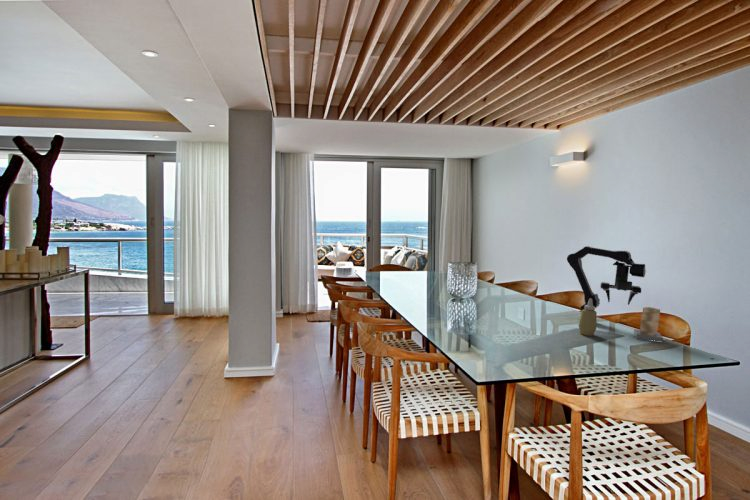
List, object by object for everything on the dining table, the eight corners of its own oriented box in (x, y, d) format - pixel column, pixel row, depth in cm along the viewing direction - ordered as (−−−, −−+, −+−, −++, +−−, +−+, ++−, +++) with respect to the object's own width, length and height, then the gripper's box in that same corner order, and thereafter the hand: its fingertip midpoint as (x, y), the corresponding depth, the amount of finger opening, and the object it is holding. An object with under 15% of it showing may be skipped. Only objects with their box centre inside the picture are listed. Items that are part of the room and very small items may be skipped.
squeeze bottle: (595, 333, 225) (599, 298, 223) (595, 337, 218) (600, 301, 216) (577, 330, 229) (581, 296, 227) (577, 334, 222) (581, 298, 220)
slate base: (636, 339, 221) (637, 334, 221) (633, 333, 231) (634, 328, 231) (662, 343, 217) (663, 338, 216) (658, 337, 227) (659, 332, 226)
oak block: (639, 332, 224) (642, 307, 223) (645, 331, 227) (648, 306, 226) (651, 335, 220) (654, 310, 218) (656, 334, 223) (660, 309, 221)
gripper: (603, 274, 235) (600, 303, 236) (644, 278, 227) (640, 309, 229) (602, 271, 245) (598, 300, 246) (641, 275, 238) (637, 304, 239)
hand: (618, 303), depth 240 cm, fingers open, 9 cm apart
